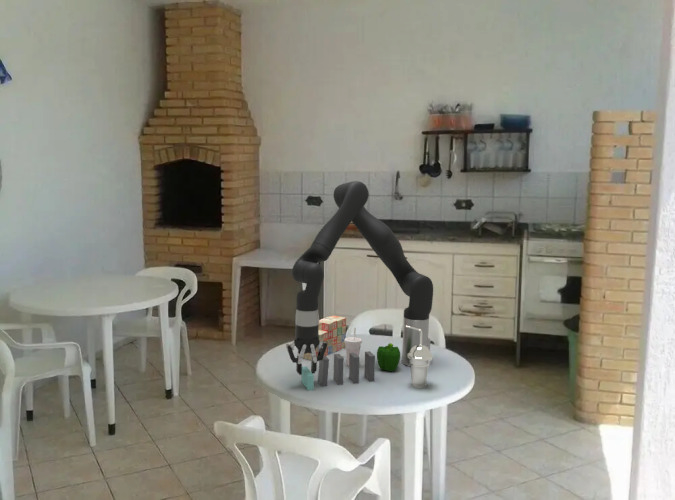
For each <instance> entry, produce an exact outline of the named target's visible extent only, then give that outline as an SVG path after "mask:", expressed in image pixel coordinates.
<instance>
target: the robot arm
mask: <svg viewBox="0 0 675 500" xmlns="http://www.w3.org/2000/svg"><path fill="white" fill-rule="evenodd" d="M369 194H370V193H369V189H368V186H367V185H366V184H364V182H362V181H359V180H355V181H354V180H353V181H349V182H345V183H344V182H343V183H341V184H339V185H337V186H336V187H335V188H334V191H333V199H334V202H335V205H336V206H337V208H338V209H337V211H336V212H335V213H334V214H333V216H332V217H331V218H330V219H329V220H328V221H327V222H326V223H325V224H324V226H322V228H321V229H320V230H319V231H318V233H317V235H316V236H315V238H314V240H313V241H312V243H311V245H310V247H309V248H308V249H306V251H305V252H303V254H301V256H300V257H299V258H298V259H297V260H296V261H295V263H294V264H293V266H292V271H291V276H292V278H293V280H294V281H296V282H297V283H302V284H305V289H302V290H299V291H298V292H297V294H296V310H295V326H294V327H295V330H294V332H295V334H294V335H295V337H294V338H295V339H294V340H293V342H292V343H287V344H286V345H285V347H286V351H287V353H288V355H289V359H290V360H291V362H292V363H293V364H294V363H295V364H296V365H295V366H296V367H295V368H296V370H295V371H296V372H297V374H298V375H301V376H302V367H303V364H302V360H303V359H304V358H303V356H304V354H306V353H310V354H311V358H312V360H310V362H311V363H310V364H311V365H310V366H311V367H310V369H311V370H310V371H311V373H312V374H313V375H314V374H316V372H318V371H317V370H318V369H317V368H318V367H317V366H318V363H319V360H322V359H323V356H324V353H325V351H326V348H327V343H326V342H325V341H323V342H321V341H320V340H319V338H318V334H319V320H320V315H319V296H320V293H321V290H322V289H321V288H322V285H323V283H324V282H323V281H324V277H325V273H324V269H323V267H322V265H321V264H319V263H321V262H326V261H328V259H329V258H330V256H331V255H332V253H333V251H334V249H335V247H336V246H337V244H338V243H339V240H340V239H341V237H342V236H343V234H344V233H345V231H346V229H348V227H349V225H350V224H351V223H352V224H353V225H354V226H355V228H356V229H357V230H358V231H359V233H360V234H361V236H362V237H363V238H364V240H366V242H367V244H369V246H370V248H371V249H372V251H374V253H375V254H376V256H377V257H378V258H379V259H380V261H381V262H382V263H383V264H384V265H385V266H386V268H387V269H388V270H389V271H390V272H391V274H392V275H393V277H394V279H395V281H396V283H398V286H399V287H400V289H401V291H402V292H403V293H404V294H405V295H406V297H408V298H409V299H408V300H409V301H408V306H407V307H405V308H404V309H403V320H402V321H403V322H402V323H403V324H402V327H403V328H402V345H401V346H402V350H401V352H402V353H401V363H402V364H403V365H405V366H408V367H411V366H410V362H409V358H408V357H407V355H408V353H409V352H410V350H411V348H412V347H413V346H415V345H418V344H420V331H418V330H414V329H411V328H407V327H406V325H407V326H411V327H415V328H419V329H421V330H422V345H425V346H426V347H428V349H429V350H430V351H431V338H430V337H429V329H430V313H431V312H432V309H433V299H434V283H433V281H432V279H431V278H430V277H429V276H428V275H425V274H422V273H419V271H417V270H416V269H415V268H414V267H413V265H411V263H410V262H409V261H408V260H407V257H406V256H405V253H404V250H403V249H404V248H403V246H402V243H401V242H400V240H399V239H398V238H397V236H396V235H395V233H394V232H393V231H392V229H391V228H390V227H389V226H388V225H387V224H386V223H384V222H383V221H382V220H380V219H379V218H377V217H376V216H374V215H373V214H371V213H370V212H369V211H368V210H367V208H365V205H366V204H367V202H368V199H369ZM318 345H319V347H320V350H319V352H318V355H317V356H316V352H315V349H316V348H317V346H318ZM295 347H296V349H297V352H296V356H295V353H294V350H295Z"/></svg>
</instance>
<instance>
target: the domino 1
mask: <svg viewBox="0 0 675 500" xmlns="http://www.w3.org/2000/svg"><path fill="white" fill-rule="evenodd" d="M314 377H315V376H314V374H312V372H311V370H310V369H309V367H308V366H302V375H301V382H302V384H303V385H304V386H305V388H306V390H307V391H314V390H315V389H314V386H315V385H314V382H315V379H314Z"/></svg>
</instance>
